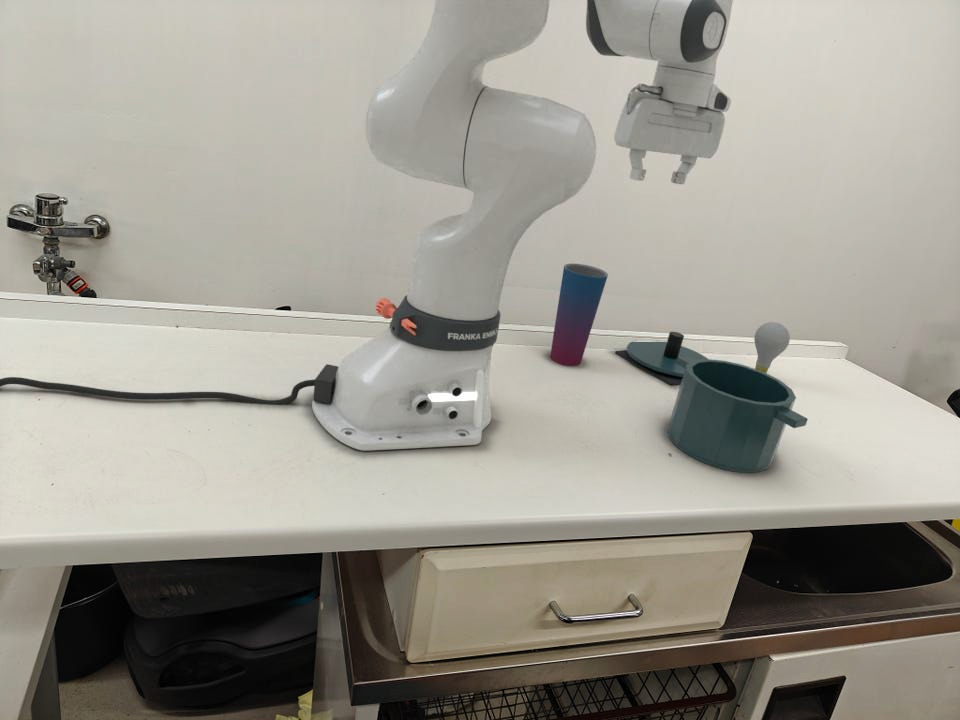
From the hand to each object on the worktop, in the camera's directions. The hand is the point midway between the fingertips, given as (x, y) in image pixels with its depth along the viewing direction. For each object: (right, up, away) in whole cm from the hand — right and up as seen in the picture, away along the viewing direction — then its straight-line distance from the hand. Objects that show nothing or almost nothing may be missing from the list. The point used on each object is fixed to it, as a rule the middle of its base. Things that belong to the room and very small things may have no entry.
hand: (657, 181), depth 116 cm
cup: (-15, -29, 0) cm, 32 cm away
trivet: (+3, -29, +6) cm, 30 cm away
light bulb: (+19, -32, +8) cm, 38 cm away
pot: (+3, -40, -20) cm, 45 cm away
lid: (+3, -28, +6) cm, 29 cm away
